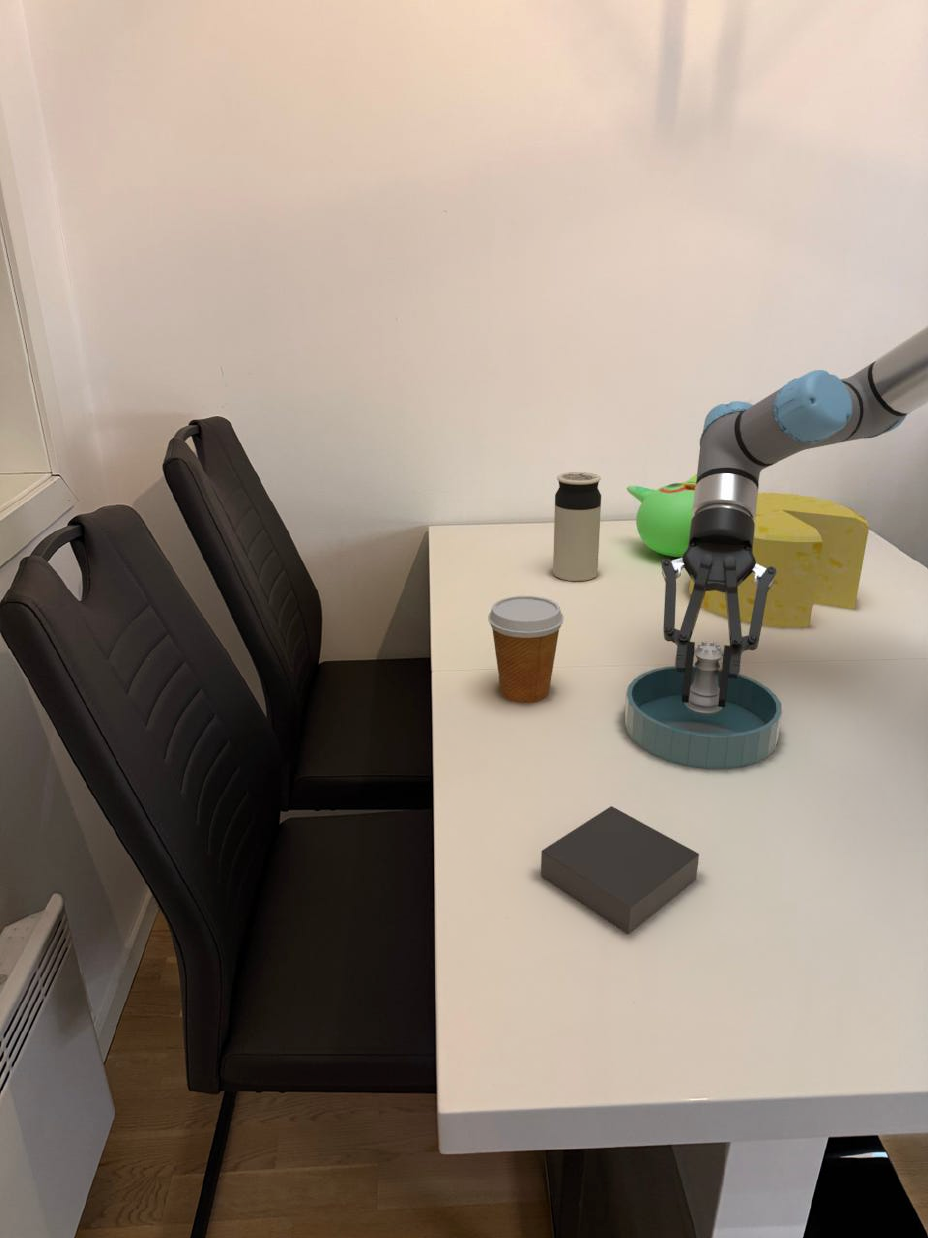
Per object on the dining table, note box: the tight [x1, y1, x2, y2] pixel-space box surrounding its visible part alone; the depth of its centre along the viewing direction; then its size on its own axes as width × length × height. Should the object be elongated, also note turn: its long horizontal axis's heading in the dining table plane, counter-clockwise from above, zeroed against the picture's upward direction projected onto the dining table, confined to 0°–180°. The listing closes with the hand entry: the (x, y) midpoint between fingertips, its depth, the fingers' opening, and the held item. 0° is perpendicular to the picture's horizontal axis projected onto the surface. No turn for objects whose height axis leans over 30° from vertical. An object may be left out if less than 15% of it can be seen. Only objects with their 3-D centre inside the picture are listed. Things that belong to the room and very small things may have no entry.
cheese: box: [688, 492, 870, 628], centre depth 137 cm, size 26×26×15 cm
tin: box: [624, 665, 783, 770], centre depth 100 cm, size 18×18×4 cm
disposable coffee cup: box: [487, 595, 565, 704], centre depth 108 cm, size 10×10×12 cm
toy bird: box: [626, 473, 697, 558], centre depth 158 cm, size 18×17×15 cm
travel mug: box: [552, 471, 602, 582], centre depth 148 cm, size 8×8×18 cm
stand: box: [540, 805, 700, 935], centre depth 76 cm, size 10×10×3 cm
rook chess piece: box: [685, 641, 724, 715], centre depth 98 cm, size 4×4×8 cm
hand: (703, 700), depth 95 cm, fingers closed on rook chess piece, 3 cm apart
